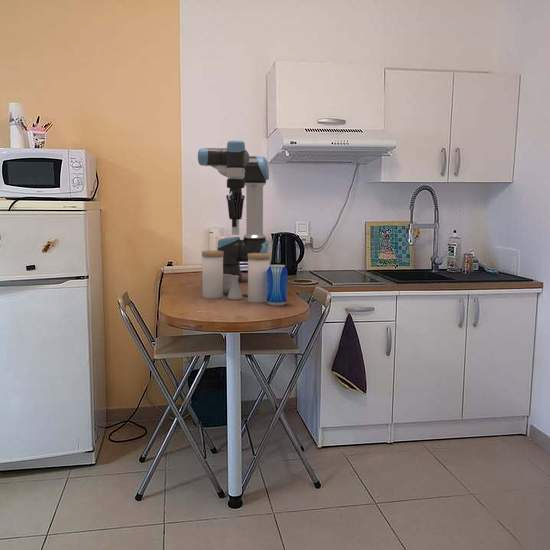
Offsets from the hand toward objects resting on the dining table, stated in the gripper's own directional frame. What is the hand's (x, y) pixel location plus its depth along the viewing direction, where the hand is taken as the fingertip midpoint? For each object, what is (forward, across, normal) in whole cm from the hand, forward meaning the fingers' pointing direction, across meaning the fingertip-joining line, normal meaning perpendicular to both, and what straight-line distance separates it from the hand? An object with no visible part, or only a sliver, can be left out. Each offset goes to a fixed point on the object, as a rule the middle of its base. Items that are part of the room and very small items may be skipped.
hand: (235, 234), depth 231 cm
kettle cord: (+28, +7, 0) cm, 28 cm away
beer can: (+28, -4, -21) cm, 35 cm away
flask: (+28, 0, 0) cm, 28 cm away
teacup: (+28, +14, +14) cm, 34 cm away
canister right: (+28, 0, -11) cm, 30 cm away
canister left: (+28, 0, +11) cm, 30 cm away
